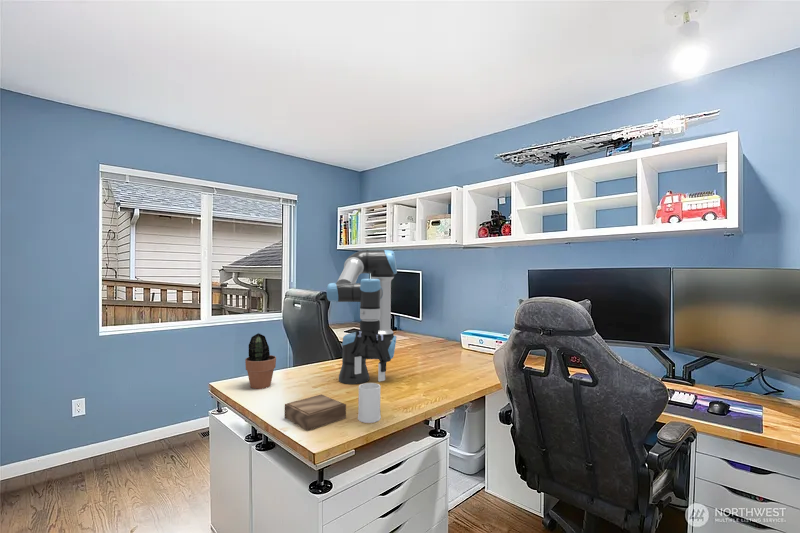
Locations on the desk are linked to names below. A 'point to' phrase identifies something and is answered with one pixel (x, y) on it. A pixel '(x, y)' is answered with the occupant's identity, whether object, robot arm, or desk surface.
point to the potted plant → (259, 363)
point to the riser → (315, 411)
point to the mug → (369, 403)
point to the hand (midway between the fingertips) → (369, 377)
